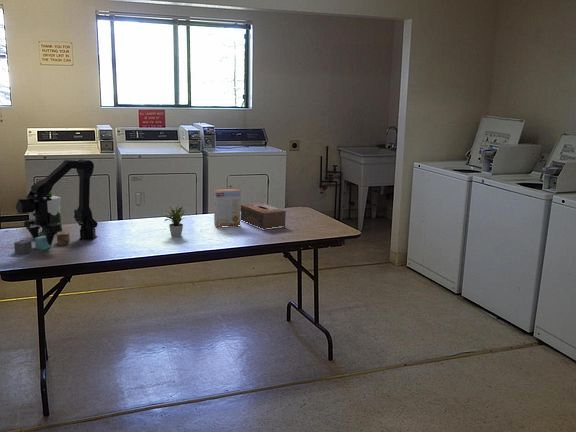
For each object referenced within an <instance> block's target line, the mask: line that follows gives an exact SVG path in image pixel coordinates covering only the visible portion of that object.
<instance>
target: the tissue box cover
mask: <svg viewBox="0 0 576 432" xmlns="http://www.w3.org/2000/svg"><path fill="white" fill-rule="evenodd" d="M286 211H287V210H284V209H281V208H278V207H275V206H273V205H270V204H268V203H264V202H254V203H244V204H240V221H241V220H243V221H245V222H248V223H250V224H252V225H255V226H258V227H260V228H263V229H266V228H272V227H279V226H285V227H286V217H287V216H286V215H287V214H286V213H287V212H286ZM245 222H244V223H245ZM252 225H251V226H252Z"/></svg>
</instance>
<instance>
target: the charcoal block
mask: <svg viewBox="0 0 576 432" xmlns="http://www.w3.org/2000/svg"><path fill="white" fill-rule="evenodd" d="M13 244H14V248H13V249H14V253H15V254H19V255H26V254H29V253H31V252H33V246H32V245H33V244H32V240H27V239H26V240H25V239H20V240H18V241H15V242H14V243H13Z"/></svg>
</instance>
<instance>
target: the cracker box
mask: <svg viewBox="0 0 576 432" xmlns="http://www.w3.org/2000/svg"><path fill="white" fill-rule="evenodd" d="M213 204H214V205H213V210H214V211H213V214H214V215H213V216H214V217H213V222H214V223H213V225H215V226H216V227H215V226H214V227H215V228H217V227H220V228H223V227H222V226H235V227H239V226H238V225H240V226H241V190H240V189H239V188H225V189H224V188H223V189H214V190H213Z"/></svg>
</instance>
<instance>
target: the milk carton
mask: <svg viewBox="0 0 576 432" xmlns="http://www.w3.org/2000/svg"><path fill="white" fill-rule="evenodd" d="M47 196H49V197H50V198H51V199H52V200H51V201H47V202H48V212H50V213H51V214H52V216H56V217H60V219H59V223H58V224H59V225H60V226H61V230H59V231H58V232H63V227H62V218H61V217H62V216H61V202H62V201H61V200H62V197H60V196H56V195H52V192H51V191H50V193H49V194H48V195H47ZM51 224H53V222H52V223H51ZM56 224H57V223H56ZM41 232H44V233H45V232H46V231H45V228H42V227H41Z"/></svg>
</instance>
